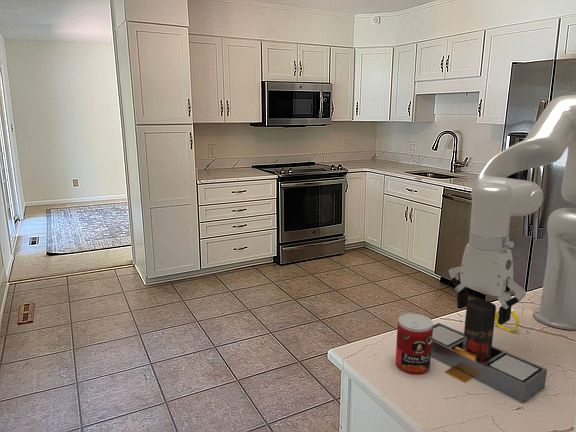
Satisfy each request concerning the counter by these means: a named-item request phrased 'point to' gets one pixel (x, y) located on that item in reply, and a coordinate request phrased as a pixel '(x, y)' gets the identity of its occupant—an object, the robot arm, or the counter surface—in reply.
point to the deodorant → (479, 328)
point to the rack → (487, 366)
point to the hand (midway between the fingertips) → (482, 314)
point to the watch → (506, 327)
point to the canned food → (414, 343)
